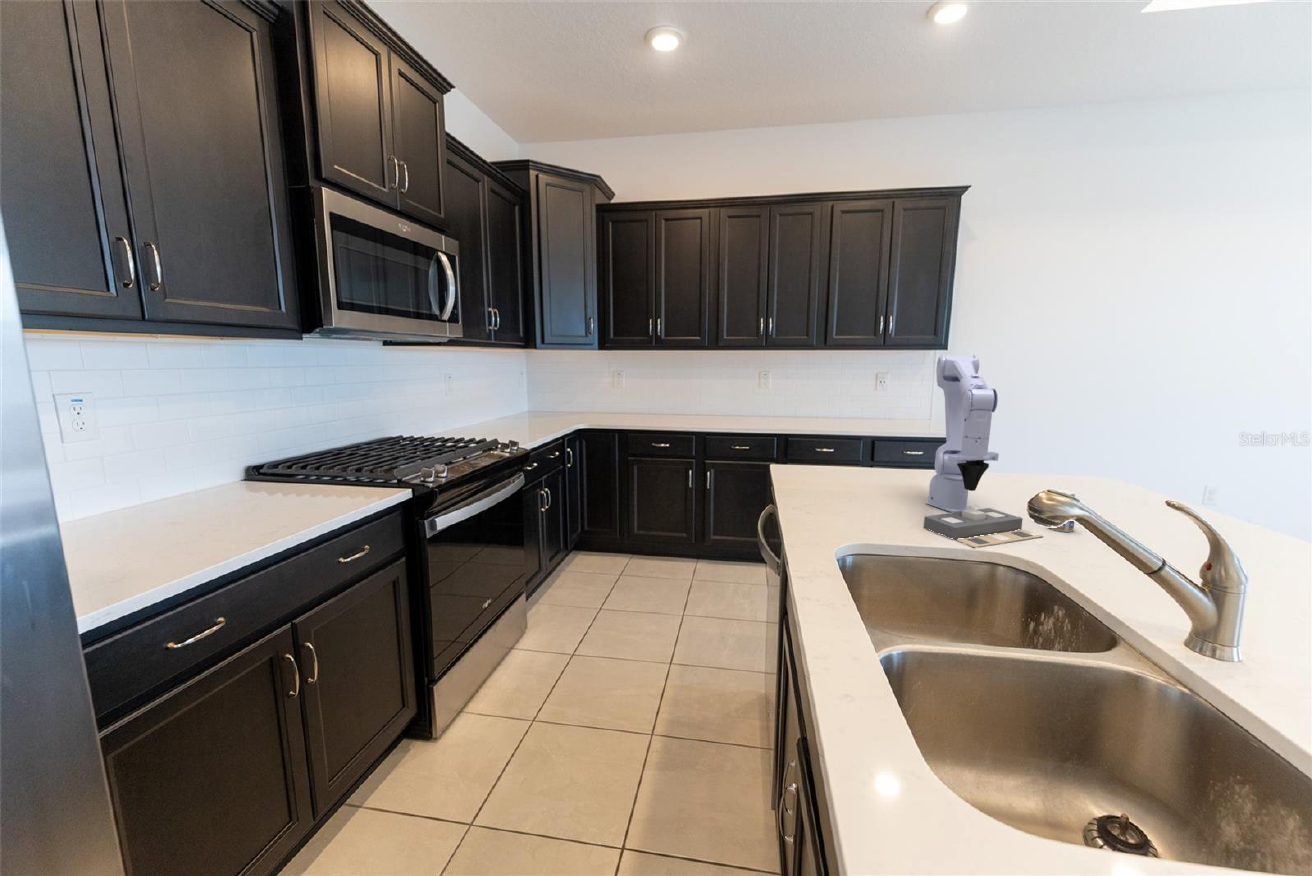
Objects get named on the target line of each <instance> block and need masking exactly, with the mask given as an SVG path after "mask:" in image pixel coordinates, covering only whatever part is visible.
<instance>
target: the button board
mask: <svg viewBox="0 0 1312 876" xmlns="http://www.w3.org/2000/svg"><path fill="white" fill-rule="evenodd" d="M977 510H978V511H981V512H984V513H987V512H995V513H998V514H1002V515H1005V516H1006V517H1000V518H994V517H991V516H988V515H986V517H985V520H978V521H973V520H970V519H967V518H965V517H962V512H955V513H953V512H948V513H942V514H941V513H940V514H933V515H924V520H923V528H924V529H925V528H926V529H925V530H928V529H930V530H932V531H931V532H933V531H934V532H933V533H935V532H936V533H935V534H938V533H940V534H943V535H945V536H947V537H946V538H948V537H949V538H948V539H950V538H953V539H958V538H969V537H974V536H980V535H988V534H994V533H1004V532H1009V531H1015V530H1018V529H1021V530H1022V529H1023V528H1022V527H1023V520H1024V518H1022V517H1019V516H1016V515H1014V514H1010V513H1006V512H1005V511H1000V510H998V509H993V508H991V507H987V508H978V509H977ZM949 517H952V518H955V519H958V520H961V521H964V523H957V524H951V523H949V522H946V521H943V520H941V518H949ZM930 530H929V531H930ZM940 534H939V535H940ZM943 535H942V536H943ZM945 536H944V537H945ZM953 539H952V540H953Z"/></svg>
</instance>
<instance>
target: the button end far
mask: <svg viewBox="0 0 1312 876" xmlns="http://www.w3.org/2000/svg"><path fill="white" fill-rule="evenodd" d="M986 515H988V516H991V517H994V518H1000V517H1006V516H1005V515H1002V514H998V513H995V512H987V513H986Z"/></svg>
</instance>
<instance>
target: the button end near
mask: <svg viewBox="0 0 1312 876" xmlns="http://www.w3.org/2000/svg"><path fill="white" fill-rule="evenodd" d="M941 520H943V521H946V522H949V523H951V524H957V523H964V521H961V520H958V519H955V518H952V517H949V518H941Z"/></svg>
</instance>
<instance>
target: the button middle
mask: <svg viewBox="0 0 1312 876" xmlns="http://www.w3.org/2000/svg"><path fill="white" fill-rule="evenodd" d="M962 517H965V518H967V519H970V520H973V521H978V520H985V517H986V513H984V512H981V511H978V509H975V508H974V509H968V510H962Z"/></svg>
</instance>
